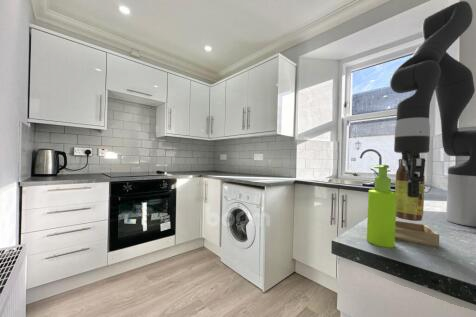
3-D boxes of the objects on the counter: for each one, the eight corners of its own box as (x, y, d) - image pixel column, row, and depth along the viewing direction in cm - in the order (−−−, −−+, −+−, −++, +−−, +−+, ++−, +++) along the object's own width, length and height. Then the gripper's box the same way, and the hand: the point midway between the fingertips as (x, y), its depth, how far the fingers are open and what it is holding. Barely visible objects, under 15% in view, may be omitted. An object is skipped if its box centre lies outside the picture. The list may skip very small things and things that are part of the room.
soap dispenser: (361, 242, 51) (364, 164, 51) (370, 236, 56) (373, 164, 56) (389, 250, 47) (393, 165, 47) (397, 243, 51) (400, 165, 51)
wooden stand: (382, 228, 63) (382, 218, 63) (424, 234, 59) (425, 224, 59) (388, 238, 55) (389, 227, 55) (438, 246, 50) (439, 234, 50)
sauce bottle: (424, 223, 52) (428, 147, 52) (394, 218, 56) (397, 147, 56) (421, 218, 57) (424, 148, 57) (393, 213, 61) (396, 148, 61)
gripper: (440, 132, 49) (437, 201, 49) (419, 138, 61) (417, 193, 61) (401, 132, 52) (399, 197, 52) (389, 138, 65) (387, 190, 65)
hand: (409, 195), depth 57 cm, fingers closed on sauce bottle, 6 cm apart
